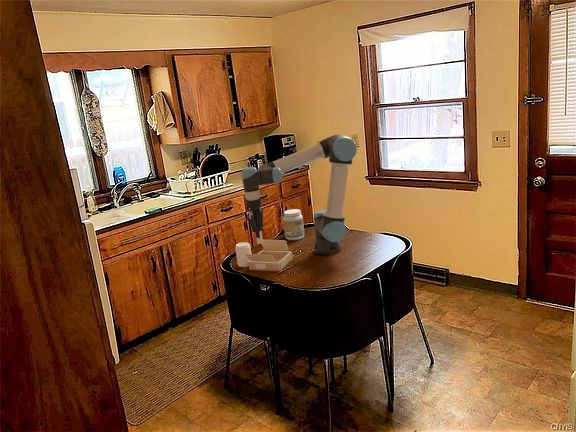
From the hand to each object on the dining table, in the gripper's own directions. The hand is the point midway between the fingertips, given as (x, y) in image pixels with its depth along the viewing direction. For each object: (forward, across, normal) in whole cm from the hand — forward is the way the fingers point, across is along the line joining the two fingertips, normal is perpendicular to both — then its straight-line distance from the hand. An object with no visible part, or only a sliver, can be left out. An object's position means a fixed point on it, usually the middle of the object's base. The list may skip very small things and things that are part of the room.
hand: (260, 243), depth 237 cm
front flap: (+8, +1, 0) cm, 8 cm away
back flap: (+7, -16, 0) cm, 18 cm away
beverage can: (+16, -7, -15) cm, 23 cm away
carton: (+16, -9, 0) cm, 18 cm away
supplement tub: (+16, -53, -4) cm, 56 cm away
